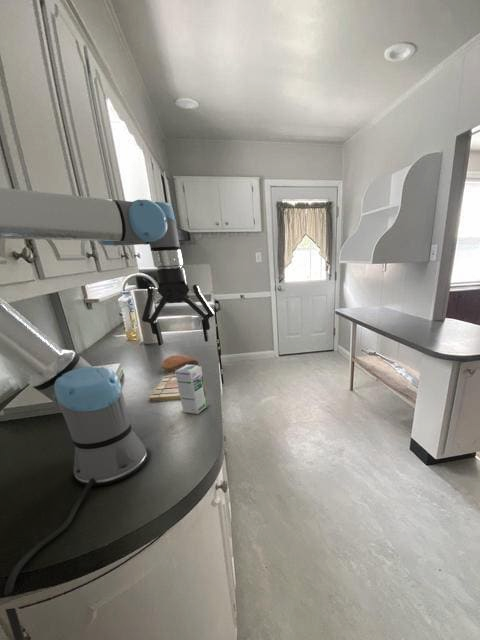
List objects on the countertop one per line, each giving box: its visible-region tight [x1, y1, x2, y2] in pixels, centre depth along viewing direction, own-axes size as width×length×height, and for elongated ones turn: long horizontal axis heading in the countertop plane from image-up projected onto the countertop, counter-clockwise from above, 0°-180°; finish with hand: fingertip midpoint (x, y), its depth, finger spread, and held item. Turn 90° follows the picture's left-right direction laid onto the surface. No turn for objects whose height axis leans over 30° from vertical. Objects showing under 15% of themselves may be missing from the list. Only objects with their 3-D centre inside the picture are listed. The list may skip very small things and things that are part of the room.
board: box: [148, 374, 181, 402], centre depth 116 cm, size 22×14×2 cm, turn 7°
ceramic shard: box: [161, 354, 199, 373], centre depth 138 cm, size 15×6×15 cm
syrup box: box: [174, 364, 209, 415], centre depth 96 cm, size 6×6×14 cm
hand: (184, 342), depth 92 cm, fingers open, 13 cm apart
